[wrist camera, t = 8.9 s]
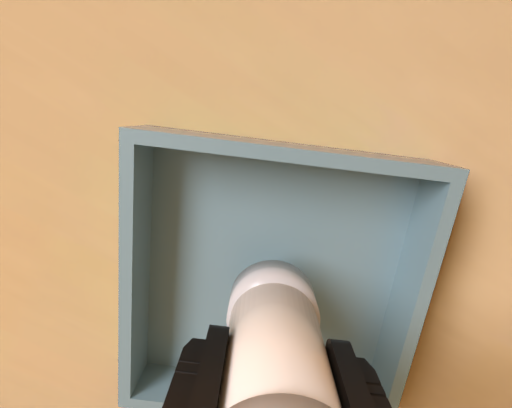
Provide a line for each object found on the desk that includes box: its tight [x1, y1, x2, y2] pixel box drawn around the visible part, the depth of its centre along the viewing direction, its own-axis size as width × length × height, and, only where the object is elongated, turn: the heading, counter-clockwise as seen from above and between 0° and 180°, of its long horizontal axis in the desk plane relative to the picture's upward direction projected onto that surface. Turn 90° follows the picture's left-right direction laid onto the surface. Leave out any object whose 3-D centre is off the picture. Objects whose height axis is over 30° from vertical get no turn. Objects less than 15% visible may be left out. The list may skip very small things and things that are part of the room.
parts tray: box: [118, 125, 470, 408], centre depth 16 cm, size 14×14×3 cm
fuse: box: [217, 260, 342, 408], centre depth 11 cm, size 4×4×9 cm
